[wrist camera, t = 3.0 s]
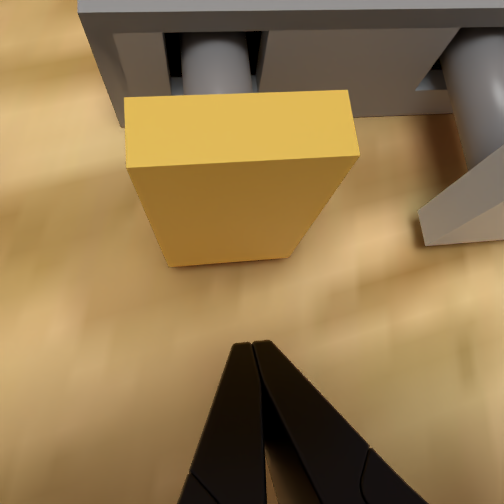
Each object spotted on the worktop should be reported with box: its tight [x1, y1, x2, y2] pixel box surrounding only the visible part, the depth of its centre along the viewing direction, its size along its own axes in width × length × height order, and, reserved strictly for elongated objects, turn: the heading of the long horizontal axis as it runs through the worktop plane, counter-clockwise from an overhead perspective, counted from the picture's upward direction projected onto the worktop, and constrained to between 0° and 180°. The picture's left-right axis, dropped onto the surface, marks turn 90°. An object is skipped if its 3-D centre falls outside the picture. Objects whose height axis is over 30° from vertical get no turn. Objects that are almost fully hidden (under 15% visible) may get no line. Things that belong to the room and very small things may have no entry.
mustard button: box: [124, 31, 360, 267], centre depth 13 cm, size 10×4×8 cm, turn 6°
